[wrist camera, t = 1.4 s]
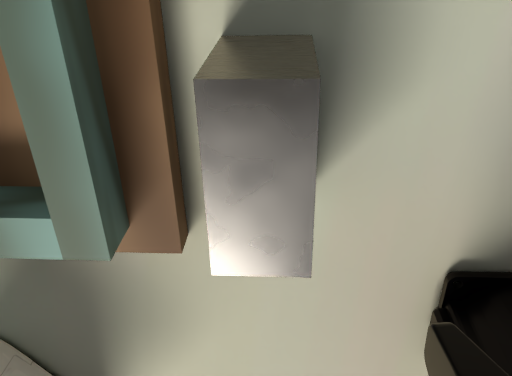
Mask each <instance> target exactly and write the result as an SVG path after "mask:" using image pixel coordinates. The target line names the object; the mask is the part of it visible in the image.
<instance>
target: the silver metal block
mask: <svg viewBox="0 0 512 376" xmlns="http://www.w3.org/2000/svg"><path fill="white" fill-rule="evenodd" d="M193 80H194V91H195V102H196V113H197V124H198V135H199V145H200V156H201V167H202V178H203V189H204V200H205V211H206V221H207V232H208V243H209V254H210V265H211V275H225V276H264V277H303V278H311V271H312V250H313V229H314V208H315V187H316V166H317V145H318V124H319V103H320V82H321V78H320V73H319V68H318V63H317V58H316V53H315V48H314V44H313V39H312V35H255V36H221V38H220V39H219V41H218V42H217V44H216V45H215V47H214V48H213V50H212V51H211V53H210V54H209V56H208V58H207V59H206V61H205V62H204V64H203V65H202V67H201V68H200V70H199V71H198V73H197V74H196V76H195V77H194V79H193Z"/></svg>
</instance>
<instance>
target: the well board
mask: <svg viewBox="0 0 512 376" xmlns="http://www.w3.org/2000/svg"><path fill="white" fill-rule="evenodd" d="M187 236H188V230H187V222H186V213H185V205H184V196H183V188H182V180H181V171H180V163H179V154H178V146H177V137H176V129H175V120H174V112H173V104H172V95H171V87H170V78H169V70H168V61H167V53H166V44H165V36H164V28H163V19H162V11H161V2H160V0H0V258H14V259H57V260H99V261H111V259H112V257H113V256H114V254H115V252H140V253H182V251H183V248H184V245H185V242H186V239H187Z"/></svg>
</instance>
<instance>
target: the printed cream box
mask: <svg viewBox="0 0 512 376" xmlns="http://www.w3.org/2000/svg"><path fill="white" fill-rule="evenodd" d="M0 376H53V375H51V374H50V373H48V372H47V371H46V370H44V369H43V368H42V367H40V366H39V365H37V364H36V363H35V362H33V361H32V360H31V359H30V358H28V357H27V356H25V355H24V354H22V353H21V352H20V351H18V350H17V349H15V348H14V347H12V346H11V345H9V344H8V343H6V342H4V341H2V340H1V339H0Z"/></svg>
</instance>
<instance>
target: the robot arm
mask: <svg viewBox="0 0 512 376" xmlns="http://www.w3.org/2000/svg"><path fill="white" fill-rule="evenodd" d="M455 281H459V282H457V283H453V282H455ZM424 356H425V363H426V367H427V371H428V375H429V376H512V273H503V272H461V271H456V272H451V273H449V274H448V275H447V276H446V277H445V280H444V284H443V288H442V292H441V296H440V301H439V305H438V307H436V308H435V309H434V311H433V312H432V317H431V321H430V325H429V327H428V332H427V338H426V344H425V350H424Z"/></svg>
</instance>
